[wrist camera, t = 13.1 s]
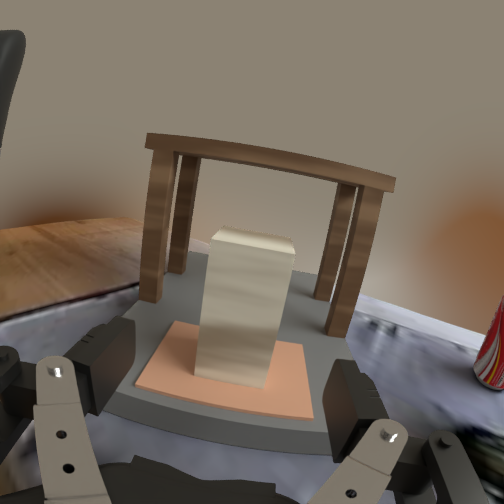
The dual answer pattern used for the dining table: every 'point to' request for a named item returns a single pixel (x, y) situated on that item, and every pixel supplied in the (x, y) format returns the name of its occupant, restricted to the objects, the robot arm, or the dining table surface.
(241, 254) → the block
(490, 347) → the soda can
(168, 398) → the slotted grey base plate
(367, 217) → the shelter
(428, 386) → the dining table surface
